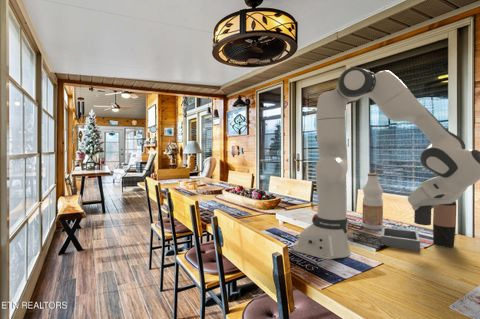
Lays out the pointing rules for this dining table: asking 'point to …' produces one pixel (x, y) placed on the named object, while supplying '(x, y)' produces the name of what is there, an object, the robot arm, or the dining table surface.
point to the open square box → (400, 238)
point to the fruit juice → (373, 203)
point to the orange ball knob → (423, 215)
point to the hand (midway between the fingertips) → (421, 208)
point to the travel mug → (444, 225)
